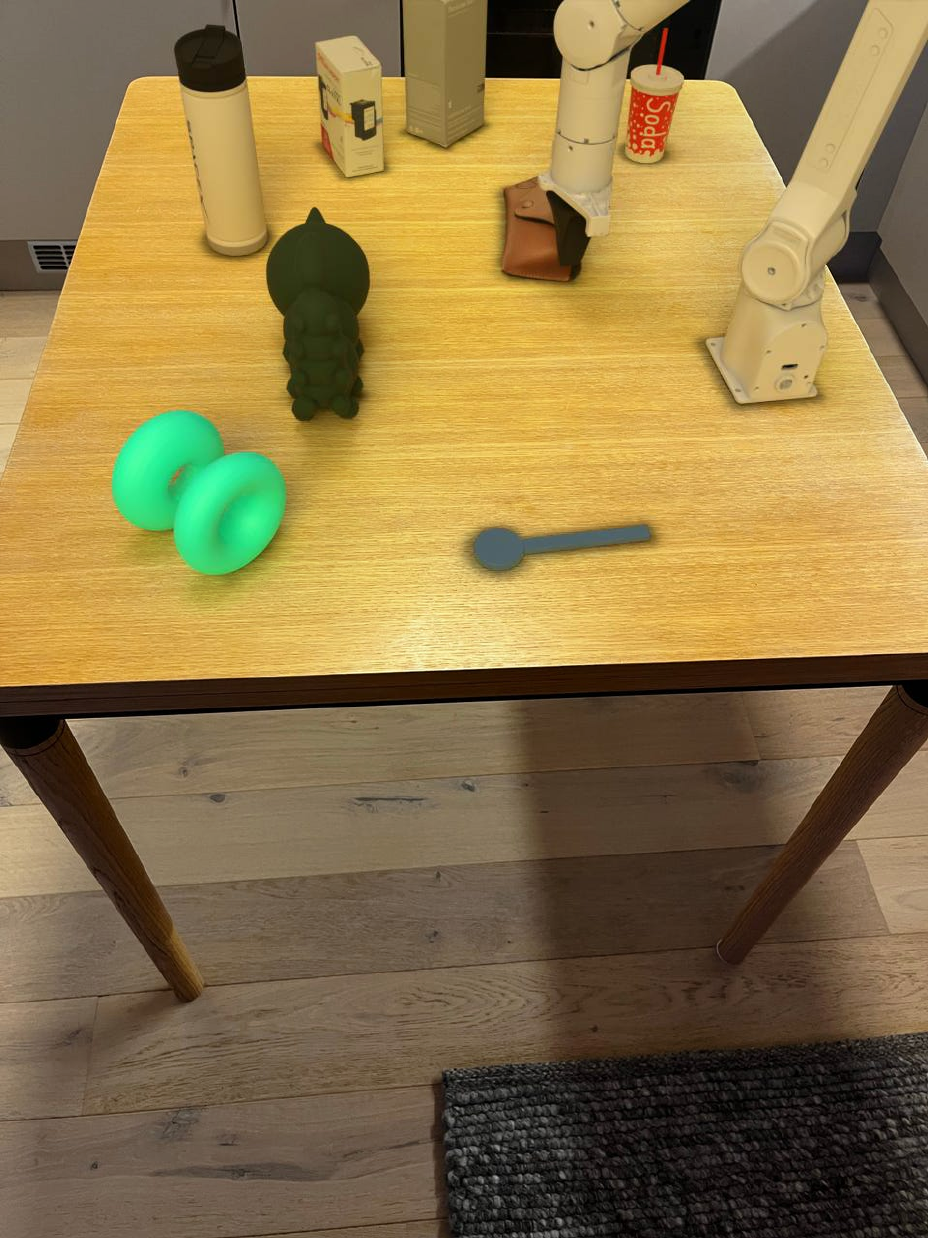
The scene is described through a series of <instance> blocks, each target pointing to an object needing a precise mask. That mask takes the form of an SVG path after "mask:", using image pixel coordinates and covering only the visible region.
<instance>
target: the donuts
mask: <svg viewBox="0 0 928 1238" xmlns="http://www.w3.org/2000/svg"><path fill="white" fill-rule="evenodd" d="M223 442H224V441H223V438H222V435H221V434H220V432H219V430H218V428H217V427H216V426H215V425H214V424H213V422H212V421H211V420H210V419H208V418H207V417H206V416H203V415H202V414H200V413H197V412H195V411H191V410H185V409H177V410H170V411H164V412H163V413H159V414H157V415H155V416H153V417H151V418H149V419H148V420H146V421H145V422H144V423H142V424H141V425H140V426H139V427H137V429H135V430H134V431H133V432H132V433H131V434H130V436H129V437H127V440H126V441H125V442H124V443H123V445H122V447H121V449H120V450H119V452H118V455H117V457H116V459H115V462H114V465H113V469H112V473H111V474H112V475H111V484H110V485H111V486H110V487H111V493H112V494H111V495H112V499H113V501H114V504H115V506H116V509H117V510H118V512H119V513H120V515H121V516H122V517H123V518H124V519H125V520H126V521H127V522H129V523H130V524H131V525H133V526H134V527H137V528H139V529H142V530H146V531H153V532H158V531H159V532H160V531H167V530H171V529H173V540H174V544H175V545H174V546H175V548H176V550H177V552H178V555H179V557H180V558H181V559H182V560H183V562H184V563H185V564H186V565H187V566H188V567H190V568H191V569H192V570H194V571H195V572H198V573H199V574H200V573H201V574H203V575H208V576H222V575H226V574H230V573H233V572H235V571H238V570H241V568H244V567H245V566H246V565H248V564H250V563H251V562H253V560H255V559H256V558H257V557H258V556H259V555H260V554H261V553H262V552H263V551H264V550H265V549H266V548H267V546H268V545H269V544H270V542H271V541H272V539H273V538H274V537H275V535H276V533H277V531H278V529H279V527H280V525H281V523H282V520H283V517H284V514H285V511H286V505H287V485H286V480H285V478H284V475H283V473H282V471H281V470H280V468H279V467H278V466H277V464H276V463H275V462H274V461H273V460H271V458H268V457H267V456H265V455H263V454H260V453H257V452H252V451H237V452H233V453H229V454H226V452H225V451H226V450H225V445H224V443H223ZM181 468H182V469H181ZM180 469H181V470H180ZM179 470H180V472H179V474H178V476H177V477H176V478H175V480H174V481H173V482H172V479H173V477H174V476H175V474H176V473H177V472H178V471H179ZM171 482H172V483H171Z"/></svg>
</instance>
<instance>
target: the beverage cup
mask: <svg viewBox="0 0 928 1238" xmlns="http://www.w3.org/2000/svg"><path fill="white" fill-rule="evenodd" d="M668 31H669V28H668V27H664V28H663V31H662V37H661V42H660V46H659V47H660V48H659V54H658V60H657V64H645V65H644V64H643V65H639V66H637V67H634V68H633V69H632V70H631V71H630V79H629V84H630V86H631V88H630V100H629V108H628V109H629V110H628V117H627V128H626V138H625V148H624V155H625V156H626V157H627V158H628V159H630V160H631V161H633V162H637V163H641V164H652V163H656V162H660V161H661V159H662V158H663V156H664V154H665V153H664V152H665V149H666V144H667V142H668V137H669V134H670V130H671V126H672V121H673V117H674V114H675V109H676V106H677V102H678V98H679V94H680V91H681V90H682V89H683V85H684V83H685V77H684V75H683V74H682V73H681V71H679V70H677V69H675V68H673V67H670V66H667V65H663V60H664V54H665V48H666V43H667V36H668Z"/></svg>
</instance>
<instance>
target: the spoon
mask: <svg viewBox="0 0 928 1238" xmlns="http://www.w3.org/2000/svg"><path fill="white" fill-rule="evenodd" d="M650 540H651V532H650V529H649V527H648V525H647V524H645V525H637V526H628V527H618V528H608V529H599V530H591V531H581V532H573V533H564V534H557V535H548V536H547V535H546V536H538V537H529V538H521V537H520V536H519V535H518V534H517V533H515V532H513V531H511V530H510V529H506V528H499V527H496V528H489V529H486V530H484V531H482V532H480V534H478V535H477V537H476V538H475V540H474V543H473V556H474V558H475V560H476V561H477V563H478V564H480V565H481V566H482V567H484V568H486V569H488V570H492V571H501V572H502V571H508V570H512V569H513V568H515V567H516V566H518V565H519V564H520V563H521V561H522V560H523V558H524V555H533V554H534V555H535V554H542V553H552V552H559V551H567V550H577V549H586V548H594V547H595V548H596V547H603V546H612V545H620V544H629V543H638V542H646V541H647V542H648V541H650Z"/></svg>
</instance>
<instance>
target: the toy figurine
mask: <svg viewBox="0 0 928 1238" xmlns="http://www.w3.org/2000/svg"><path fill="white" fill-rule="evenodd" d="M265 267H266V268H265V279H266V281H265V282H266V286H267V291H268V294H269V297H270V299H271V301H272V303H273V305H274V306H275V308H276V309H277V311H278V312H279V313H280V314H281V315H282V317H283V323H282V333H283V339H284V345H283V349H282V352H281V353H282V357H283V359H284V360H285V361H286V362H287V363H288V365H289V366H288V367H289V372H290V378H289V379H288V381H287V384H286V388H285V389H286V391H287V392H288V394H289V395H290V397H291V398H292V399H295V400H293V402H292V404H291V410H290V411H291V413H292V415H293V416H294V418H295V420H297V421H299V422H309V421H310V420H312V419H314V416H315V414H317V413H318V411H321V412H322V411H323V412H328V411H331V413H333V414H335V415H336V416H338V417H339V418H341V419H343V420H352V419H354V418H356V417H357V416H358V413H359V410H360V404H359V401H358V400H357V398H356V397H357V396H359V395H361V392H362V391H363V388H364V386H365V385H364V382H363V380H362V378H361V377H360V375H359V369H360V367H359V365H360V361H361V359H362V357H363V356H364V353H365V347H364V345H363V342H362V340H361V338H360V323H359V320H358V315H359V314H360V312H361V311H362V309H363V308H364V306H365V304H366V302H367V300H368V295H369V292H370V287H371V272H370V264H369V262H368V258H367V255H366V254H365V252H364V250H363V248H362V247H361V246H360V244H359V243H358V242H357V241H356V240H355V239H354V238H353V237H352V235H350V234H349V233H348V232H347V231H345V230H343V229H342V228H341V227H338V226H336V225H334V224H331V223H327V222H326V221H325V219H324V216H323V215H322V213H321V212H320V209H318V207H317V206H313V207H312V208H311V209H310V211H309V214H308V215H307V217H306V220H305V222H304V223H301V224H298V225H295V226H294V227H292V228H290V229H288V230H287V231H285V232H284V233H283V234H282V235H281V236H280V237H279V239H278V240H277V241H276V242H275V244H274V245H273V247H272V249H270V252H269V253H268V257H267V260H266V266H265Z"/></svg>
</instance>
